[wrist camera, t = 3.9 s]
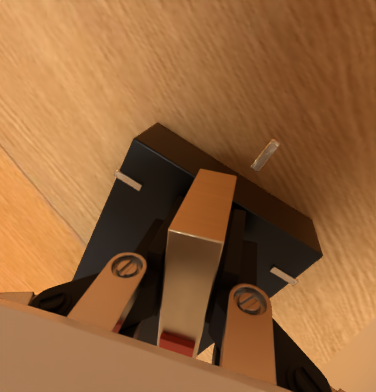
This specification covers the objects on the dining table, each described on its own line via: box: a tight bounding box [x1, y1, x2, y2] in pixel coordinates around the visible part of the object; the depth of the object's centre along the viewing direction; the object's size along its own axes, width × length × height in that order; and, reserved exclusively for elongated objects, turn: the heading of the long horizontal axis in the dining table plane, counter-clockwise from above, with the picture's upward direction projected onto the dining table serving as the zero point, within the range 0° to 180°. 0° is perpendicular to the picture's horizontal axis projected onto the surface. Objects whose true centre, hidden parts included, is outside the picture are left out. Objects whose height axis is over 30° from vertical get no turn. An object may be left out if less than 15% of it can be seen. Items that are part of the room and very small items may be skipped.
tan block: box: [157, 169, 237, 359], centre depth 10 cm, size 6×2×5 cm, turn 173°
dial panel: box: [72, 123, 323, 355], centre depth 16 cm, size 21×10×3 cm, turn 151°
